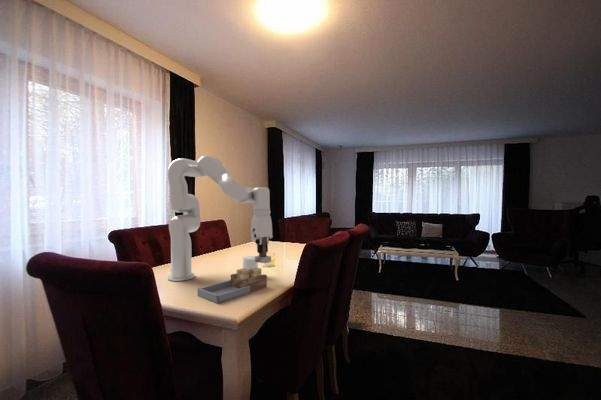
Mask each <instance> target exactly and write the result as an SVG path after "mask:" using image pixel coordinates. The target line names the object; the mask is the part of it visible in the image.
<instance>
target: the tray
mask: <svg viewBox="0 0 601 400" xmlns="http://www.w3.org/2000/svg"><path fill="white" fill-rule="evenodd" d="M248 294H251V293H250V286H246V287H243V288H240V289H239V288H236V287H233V286H231V279H229V280H225V281H222V282H217V283H214V284H211V285H206V286H203V287H198V288H197V296H198V298H199V297H200V298H202V299H205V300H206V301H209V302H212V303H214V304H217V305H219V304H221V303H224V302H227V301H231V300H235V299H237V298H240V297H242V296H245V295H248Z"/></svg>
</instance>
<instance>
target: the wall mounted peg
mask: <svg viewBox="0 0 601 400" xmlns="http://www.w3.org/2000/svg"><path fill="white" fill-rule="evenodd" d="M262 245H263V253H258V255H254V256H255V262H258V263H261V264H268V263H271V262H272V256H270V255H267V252H266V237H264V238H262Z"/></svg>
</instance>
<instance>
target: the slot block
mask: <svg viewBox="0 0 601 400" xmlns="http://www.w3.org/2000/svg"><path fill="white" fill-rule="evenodd" d="M267 278H268V275H267V274H261V275H259V276H256V277H252V278H248V279H245V280H239V279H237V272H236V273H232V274H230V280H231V286H233V287H236V288H239V289H240V288H243V287H246V286H250V293H249V294H251V293H253V292H256V291H260V290H262V289H266V288H267V287H268V282H267V280H268V279H267Z"/></svg>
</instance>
